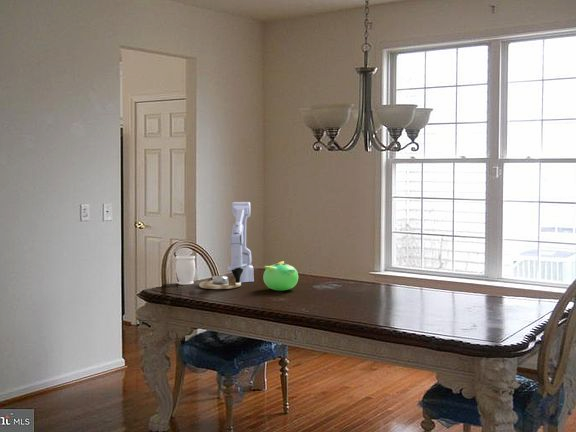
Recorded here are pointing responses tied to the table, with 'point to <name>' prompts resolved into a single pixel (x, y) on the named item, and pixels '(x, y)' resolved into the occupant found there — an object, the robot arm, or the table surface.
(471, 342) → the table surface
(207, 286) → the disc
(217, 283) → the cover
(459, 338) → the table surface
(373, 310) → the table surface
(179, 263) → the jar
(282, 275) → the green tomato
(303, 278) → the table surface
